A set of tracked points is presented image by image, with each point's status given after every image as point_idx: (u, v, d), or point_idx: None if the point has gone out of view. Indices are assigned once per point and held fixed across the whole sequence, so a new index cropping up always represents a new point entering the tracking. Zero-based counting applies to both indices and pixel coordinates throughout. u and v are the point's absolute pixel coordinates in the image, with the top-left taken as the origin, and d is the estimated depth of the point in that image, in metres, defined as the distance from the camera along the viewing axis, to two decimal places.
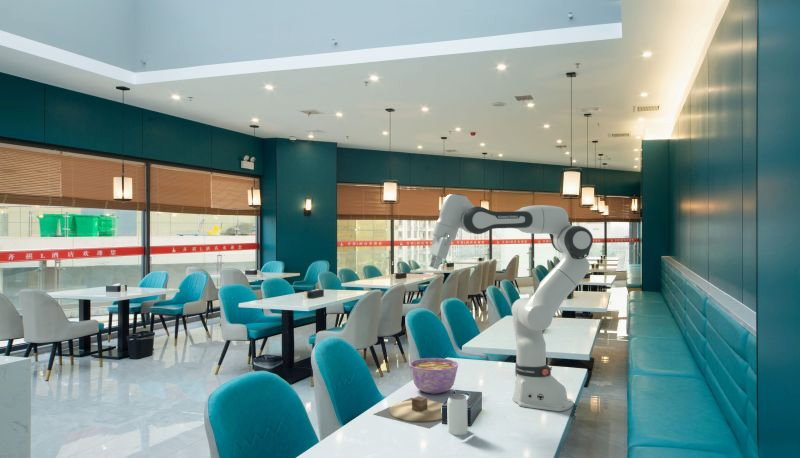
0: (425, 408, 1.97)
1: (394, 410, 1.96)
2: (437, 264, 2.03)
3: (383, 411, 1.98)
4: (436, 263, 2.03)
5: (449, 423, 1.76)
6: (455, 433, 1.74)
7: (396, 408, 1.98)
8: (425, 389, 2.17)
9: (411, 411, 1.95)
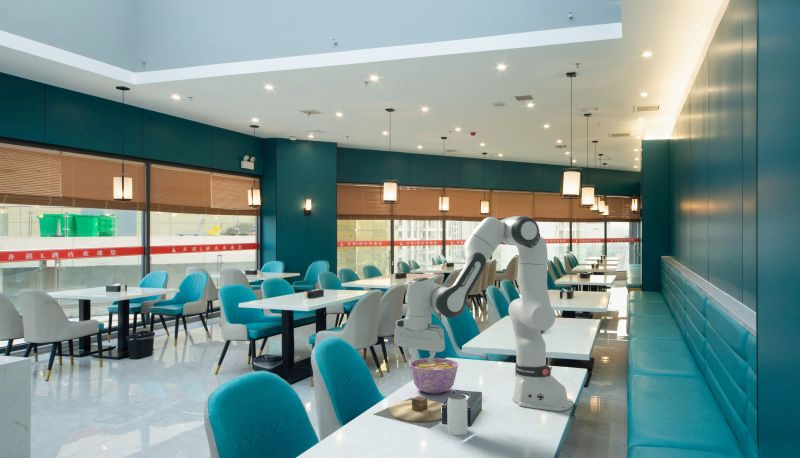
0: (425, 408, 1.97)
1: (394, 410, 1.96)
2: (432, 358, 1.94)
3: (383, 411, 1.98)
4: (431, 357, 1.94)
5: (449, 423, 1.76)
6: (455, 433, 1.74)
7: (396, 408, 1.98)
8: (425, 389, 2.17)
9: (411, 411, 1.95)
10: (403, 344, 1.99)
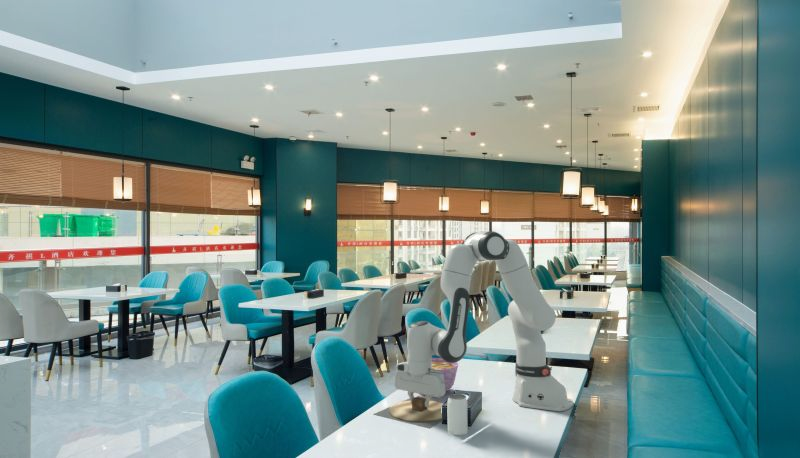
0: (425, 408, 1.97)
1: (394, 410, 1.96)
2: (428, 401, 1.95)
3: (383, 411, 1.98)
4: (427, 401, 1.95)
5: (449, 423, 1.76)
6: (455, 433, 1.74)
7: (396, 408, 1.98)
8: None
9: (411, 411, 1.95)
10: (403, 388, 1.99)
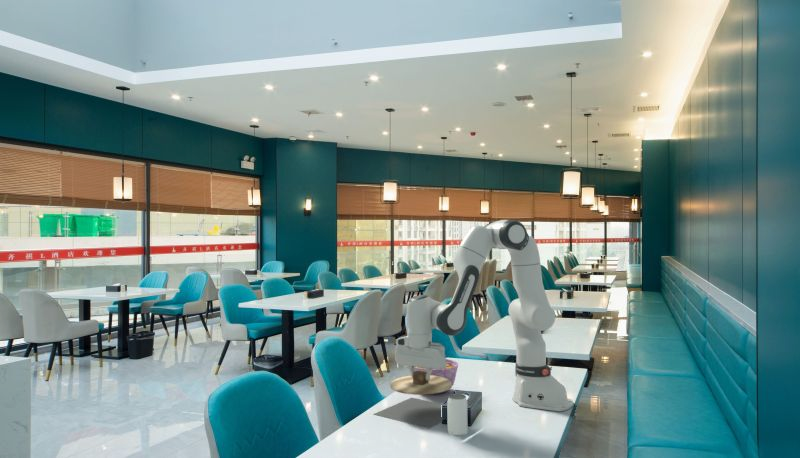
0: (426, 382, 1.97)
1: (395, 384, 1.96)
2: (429, 375, 1.95)
3: (383, 411, 1.98)
4: (428, 374, 1.95)
5: (449, 423, 1.76)
6: (455, 433, 1.74)
7: (397, 382, 1.98)
8: None
9: (412, 385, 1.95)
10: (404, 362, 1.99)
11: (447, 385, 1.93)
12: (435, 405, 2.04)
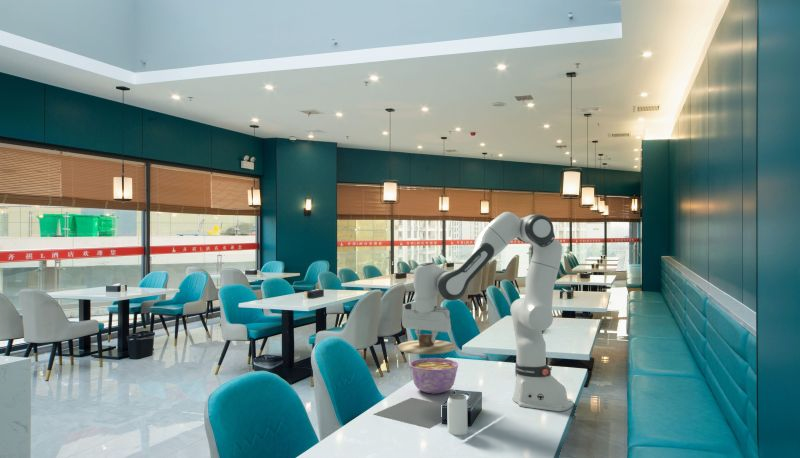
0: (431, 344, 2.08)
1: (402, 346, 2.07)
2: (434, 337, 2.06)
3: (383, 411, 1.98)
4: (434, 337, 2.06)
5: (449, 423, 1.76)
6: (455, 433, 1.74)
7: (404, 345, 2.09)
8: (425, 389, 2.17)
9: (418, 347, 2.06)
10: (411, 326, 2.10)
11: (451, 347, 2.04)
12: (435, 405, 2.04)
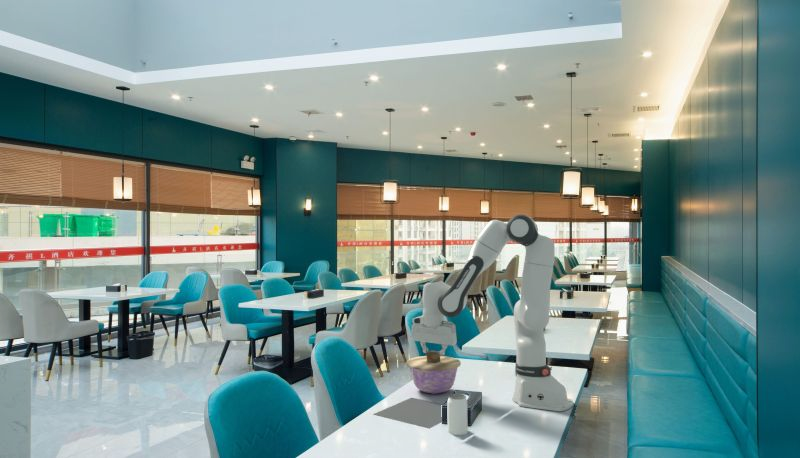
0: (438, 360, 2.23)
1: (411, 362, 2.22)
2: (444, 350, 2.20)
3: (383, 411, 1.98)
4: (443, 350, 2.20)
5: (449, 423, 1.76)
6: (455, 433, 1.74)
7: (412, 361, 2.24)
8: (425, 389, 2.17)
9: (426, 363, 2.21)
10: (419, 339, 2.25)
11: (457, 363, 2.20)
12: (435, 405, 2.04)
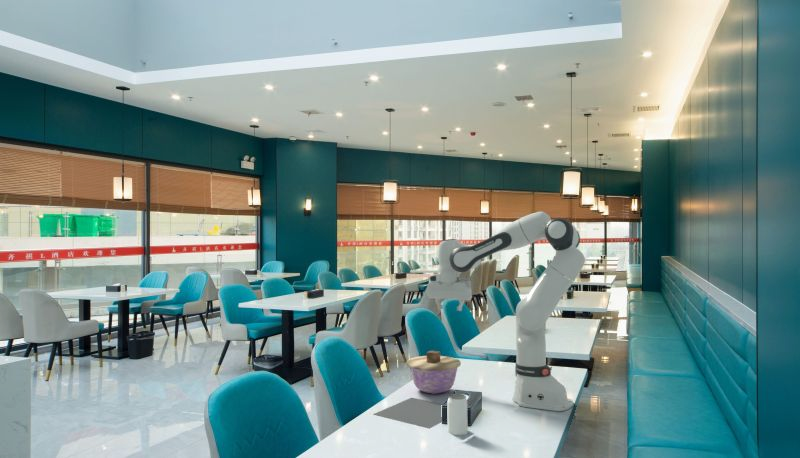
0: (438, 360, 2.23)
1: (411, 362, 2.22)
2: (461, 306, 2.29)
3: (383, 411, 1.98)
4: (461, 305, 2.28)
5: (449, 423, 1.76)
6: (455, 433, 1.74)
7: (412, 361, 2.24)
8: (425, 389, 2.17)
9: (426, 363, 2.21)
10: (435, 296, 2.34)
11: (457, 363, 2.20)
12: (435, 405, 2.04)
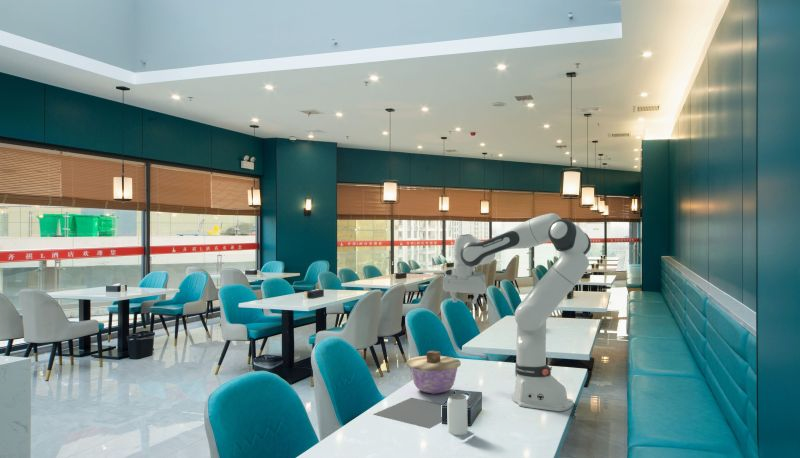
0: (438, 360, 2.23)
1: (411, 362, 2.22)
2: (475, 299, 2.37)
3: (383, 411, 1.98)
4: (475, 299, 2.36)
5: (449, 423, 1.76)
6: (455, 433, 1.74)
7: (412, 361, 2.24)
8: (425, 389, 2.17)
9: (426, 363, 2.21)
10: (451, 289, 2.42)
11: (457, 363, 2.20)
12: (435, 405, 2.04)
